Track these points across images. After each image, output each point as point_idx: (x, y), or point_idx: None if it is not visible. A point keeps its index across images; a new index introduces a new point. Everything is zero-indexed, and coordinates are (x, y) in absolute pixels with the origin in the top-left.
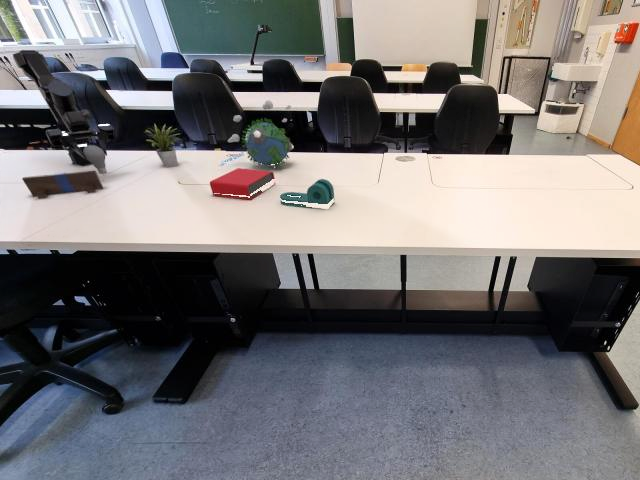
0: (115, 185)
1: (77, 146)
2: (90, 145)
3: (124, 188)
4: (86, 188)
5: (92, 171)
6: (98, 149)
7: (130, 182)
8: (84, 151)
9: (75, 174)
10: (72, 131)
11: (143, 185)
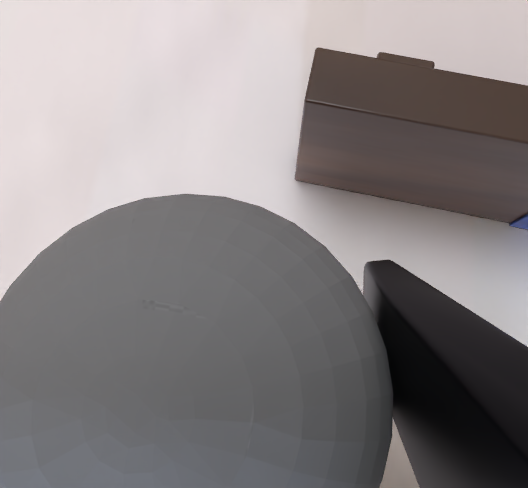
0: (198, 190)
1: (519, 418)
2: (128, 394)
3: (154, 61)
4: (425, 64)
5: (336, 74)
6: (36, 265)
7: (69, 209)
8: (355, 315)
9: (518, 92)
10: None
11: (9, 57)
